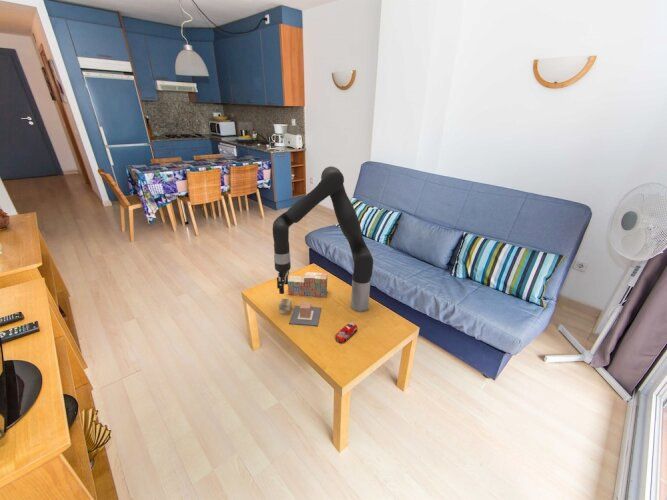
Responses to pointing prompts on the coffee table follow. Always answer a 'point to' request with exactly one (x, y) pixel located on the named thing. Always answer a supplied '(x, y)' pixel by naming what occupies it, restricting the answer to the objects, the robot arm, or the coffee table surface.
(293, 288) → the stack of blocks
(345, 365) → the coffee table surface
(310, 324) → the board
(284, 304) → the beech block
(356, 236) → the robot arm
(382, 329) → the coffee table surface
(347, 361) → the coffee table surface
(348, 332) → the race car
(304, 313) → the block
